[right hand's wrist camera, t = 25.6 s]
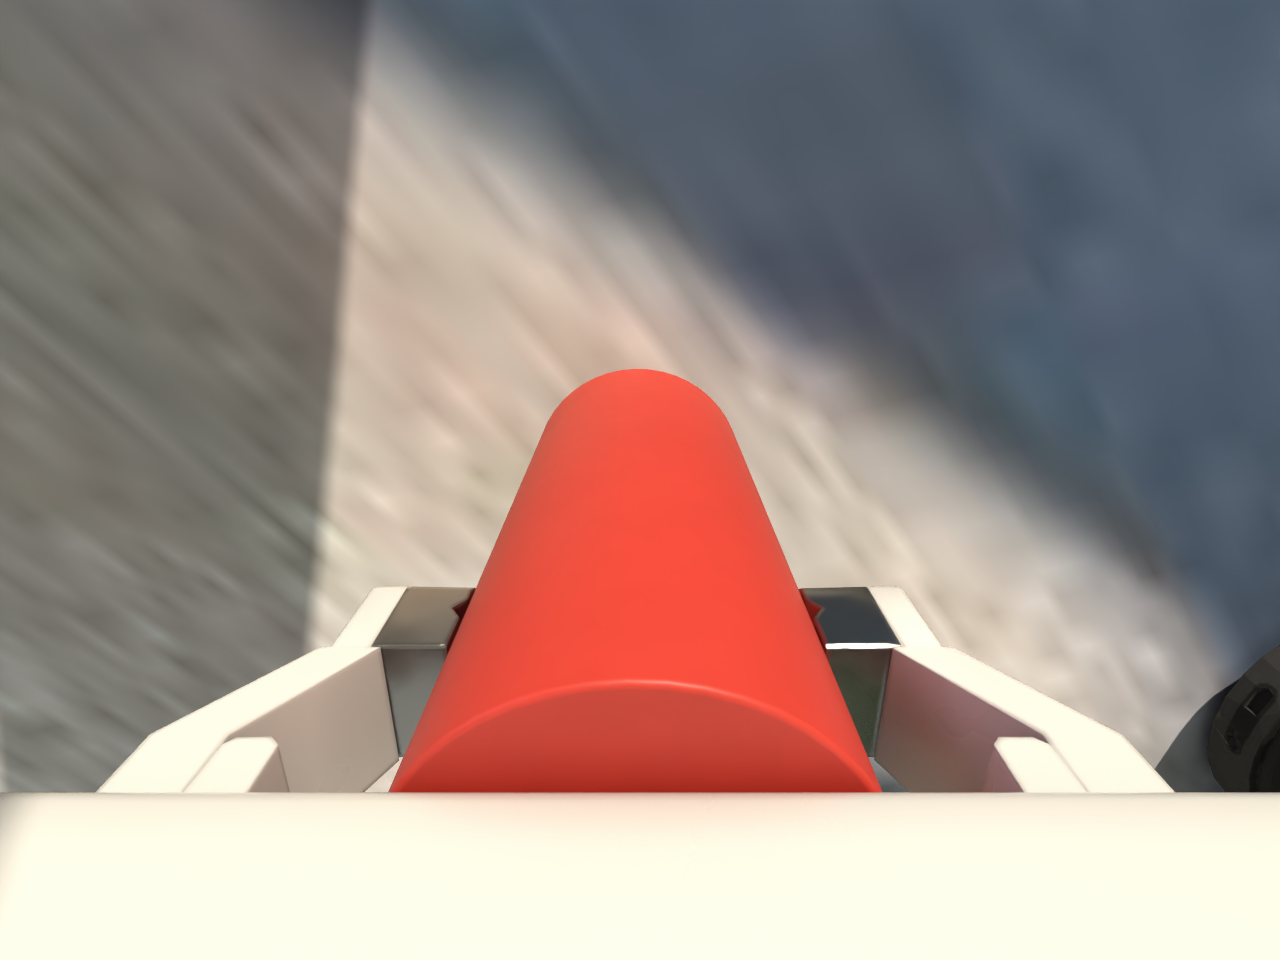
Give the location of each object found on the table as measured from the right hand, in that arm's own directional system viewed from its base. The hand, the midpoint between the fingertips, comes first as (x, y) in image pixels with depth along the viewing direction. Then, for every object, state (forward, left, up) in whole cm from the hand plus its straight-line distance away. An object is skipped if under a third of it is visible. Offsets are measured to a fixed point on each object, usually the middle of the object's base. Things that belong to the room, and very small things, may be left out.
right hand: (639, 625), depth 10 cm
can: (0, 0, -7) cm, 7 cm away
